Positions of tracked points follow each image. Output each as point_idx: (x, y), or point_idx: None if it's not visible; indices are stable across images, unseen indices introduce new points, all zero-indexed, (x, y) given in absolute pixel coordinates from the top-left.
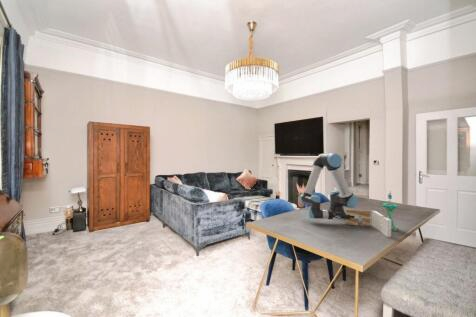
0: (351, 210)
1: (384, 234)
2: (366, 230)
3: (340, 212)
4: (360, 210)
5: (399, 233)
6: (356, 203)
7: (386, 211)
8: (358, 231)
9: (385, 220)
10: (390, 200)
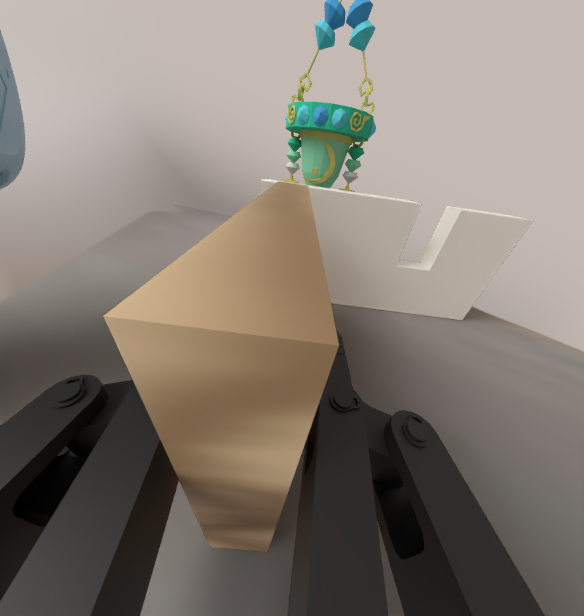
0: (318, 243)
1: (432, 315)
2: (407, 370)
3: None
4: (292, 195)
5: None
6: (9, 90)
7: (321, 170)
8: (508, 465)
9: (495, 229)
10: (365, 64)
